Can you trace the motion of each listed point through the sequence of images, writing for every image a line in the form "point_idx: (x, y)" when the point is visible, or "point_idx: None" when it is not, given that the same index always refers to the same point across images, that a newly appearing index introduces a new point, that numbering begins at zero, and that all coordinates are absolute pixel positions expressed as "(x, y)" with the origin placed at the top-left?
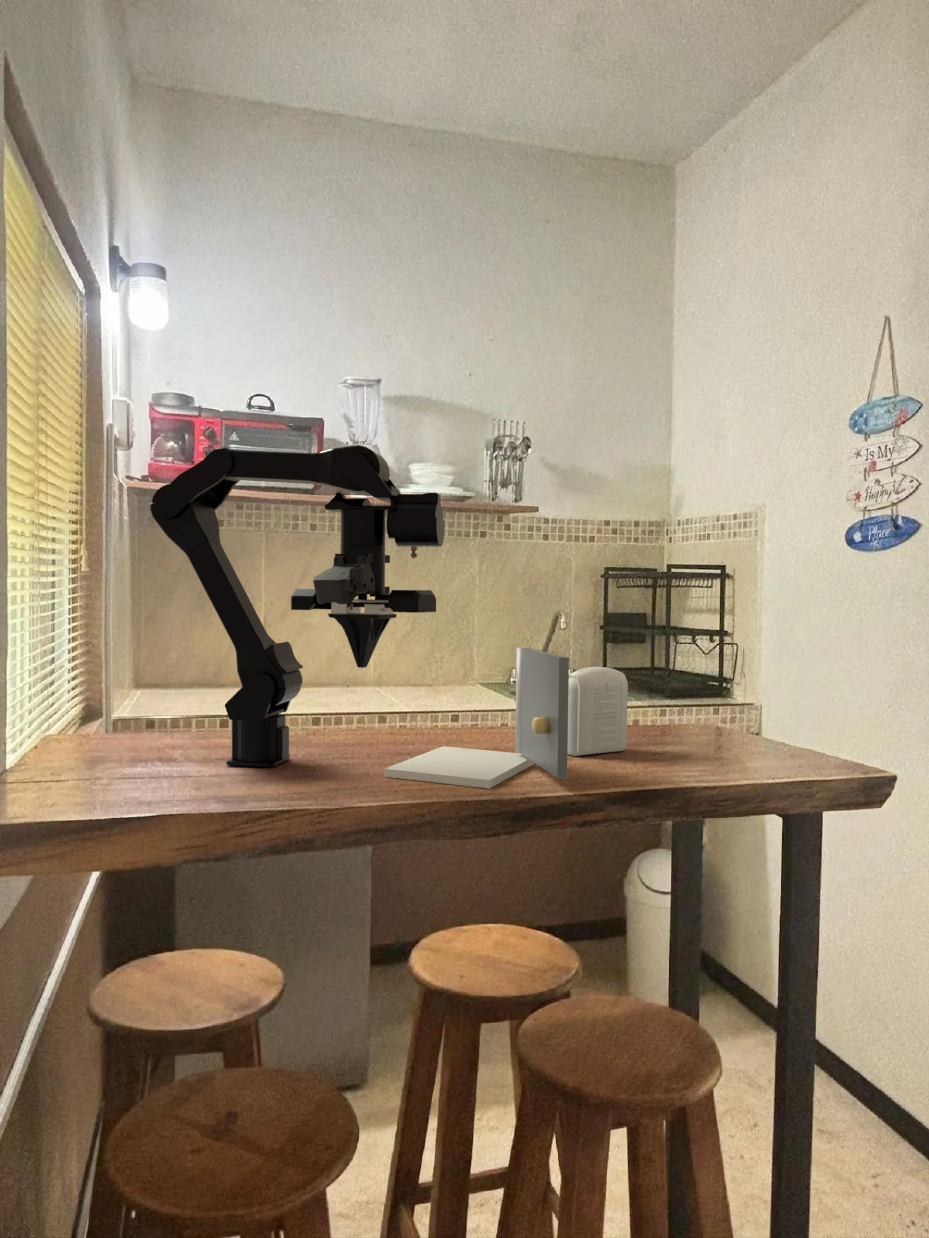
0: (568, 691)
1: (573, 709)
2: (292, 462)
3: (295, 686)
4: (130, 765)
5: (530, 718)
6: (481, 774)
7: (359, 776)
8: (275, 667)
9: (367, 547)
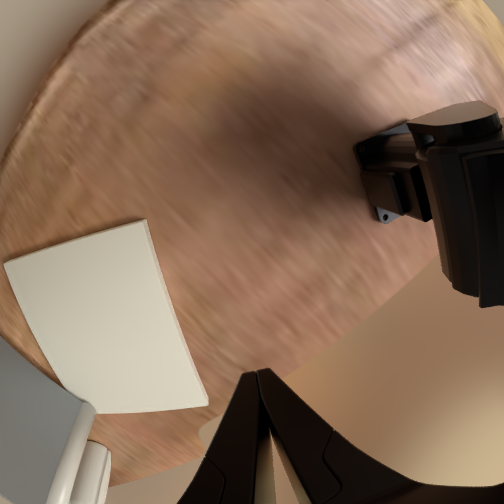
0: (82, 499)
1: (79, 480)
2: None
3: (443, 236)
4: (480, 77)
5: (24, 411)
6: (26, 285)
7: (182, 192)
8: (491, 145)
9: None
